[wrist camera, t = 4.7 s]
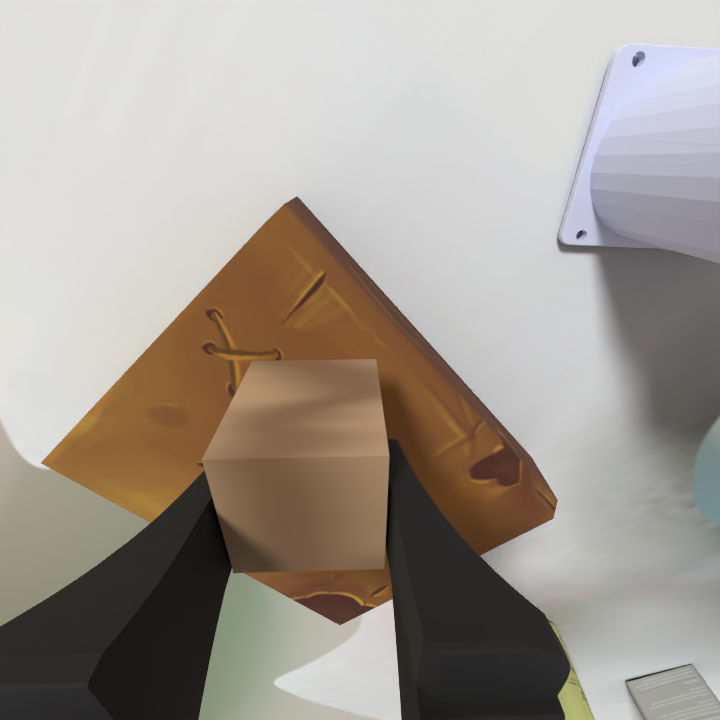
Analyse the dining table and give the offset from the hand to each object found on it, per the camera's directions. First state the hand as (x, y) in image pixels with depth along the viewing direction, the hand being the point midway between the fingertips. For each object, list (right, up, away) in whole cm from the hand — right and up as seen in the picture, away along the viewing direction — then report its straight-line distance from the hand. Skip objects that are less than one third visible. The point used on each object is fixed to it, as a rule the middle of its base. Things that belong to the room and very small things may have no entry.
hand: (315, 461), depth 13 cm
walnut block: (0, +2, +1) cm, 2 cm away
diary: (-1, -1, +13) cm, 13 cm away
